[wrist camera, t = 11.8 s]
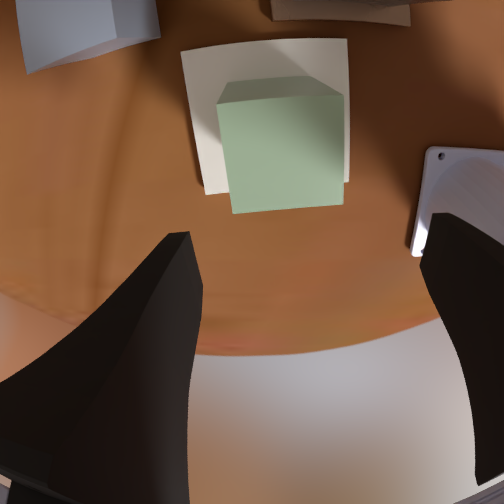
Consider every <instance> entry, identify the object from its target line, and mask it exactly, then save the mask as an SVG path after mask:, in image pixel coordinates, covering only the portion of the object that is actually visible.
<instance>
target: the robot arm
mask: <svg viewBox="0 0 504 504" xmlns="http://www.w3.org/2000/svg"><path fill="white" fill-rule="evenodd" d="M441 152H442V155H441V157H440V158H438V155H439V154H440V153H441ZM422 248H424V249H423V250H421V249H422ZM410 252H411V254H412V256H415V257H417V256H422V258H421V262H420V269H421V272H422V275H423V278H424V281H425V283H426V286H427V289H428V292H429V294H430V296H431V298H432V300H433V302H434V304H435V306H436V309H437V311H438V313H439V315H440V317H441V319H442V321H443V323H444V325H445V327H446V329H447V332H448V334H449V336H450V338H451V340H452V342H453V345H454V347H455V349H456V352H457V355H458V357H459V360H460V363H461V367H462V371H463V374H464V378H465V382H466V386H467V390H468V395H469V400H470V405H471V411H472V418H473V426H474V436H475V477H476V481H477V484H478V486H480V485H482V484H484V483H486V482H488V481H490V480H492V479H494V478H496V477H498V476H500V475H502V474H504V151H500V150H488V149H475V148H458V147H435V146H433V147H430V148H428V149H427V151H426V154H425V162H424V170H423V178H422V185H421V191H420V198H419V204H418V210H417V215H416V221H415V226H414V231H413V236H412V241H411V246H410ZM202 296H203V284H202V280H201V276H200V272H199V268H198V264H197V260H196V256H195V252H194V248H193V244H192V240H191V236H190V232H189V231H187V232H177V233H169V234H168V235H167V236H166V237H165V238H164V239H163V240H162V241H161V242H160V243H159V244H158V245H157V246H156V247H155V248H154V249H153V251H152V252H151V253H150V254H149V255H148V256H147V257H146V258H145V259H144V261H143V262H142V263H141V264H140V265H139V266H138V267H137V268H136V269H135V270H134V272H133V273H132V274H131V275H130V276H129V277H128V278H127V279H126V280H125V281H124V282H123V283H122V284H121V285H120V286H119V287H118V288H117V289H116V290H115V291H114V293H113V294H112V295H111V296H110V297H109V298H108V299H107V300H106V301H105V302H104V303H103V304H102V305H101V306H100V307H99V308H98V309H97V310H96V311H95V312H93V313H92V314H91V315H90V316H89V317H88V318H87V319H86V320H85V321H83V322H82V323H81V324H80V325H79V326H78V327H77V328H76V329H74V330H73V331H72V332H71V333H70V334H68V335H67V336H66V337H65V338H63V339H62V340H61V341H60V342H58V343H57V344H56V345H54V346H53V347H52V348H51V349H49V350H48V351H47V352H46V353H44V354H43V355H42V356H40V357H39V358H37V359H36V360H34V361H33V362H32V363H30V364H29V365H27V366H26V367H25V368H23V369H21V370H20V371H18V372H17V373H15V374H14V375H12V376H10V377H9V378H8V379H6V380H4V381H2V382H0V474H1V475H3V476H5V477H7V478H8V479H11V480H12V482H11V486H10V488H8V487H6V486H4V485H2V484H0V504H190V500H189V487H188V464H187V420H188V396H189V387H190V379H191V372H192V367H193V361H194V355H195V350H196V344H197V338H198V333H199V327H200V321H201V314H202ZM454 504H504V480H503V481H501V482H499V483H497V484H496V485H493V486H491V487H489V488H487V489H485V490H483V491H481V492H479V493H477V494H475V495H473V496H471V497H468V498H466V499H463V500H461V501H459V502H456V503H454Z"/></svg>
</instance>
